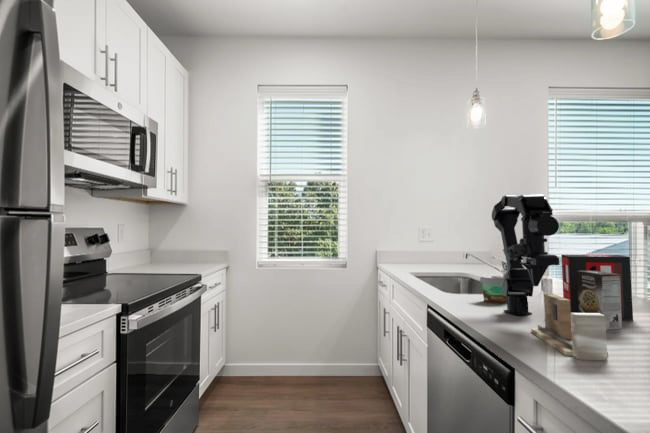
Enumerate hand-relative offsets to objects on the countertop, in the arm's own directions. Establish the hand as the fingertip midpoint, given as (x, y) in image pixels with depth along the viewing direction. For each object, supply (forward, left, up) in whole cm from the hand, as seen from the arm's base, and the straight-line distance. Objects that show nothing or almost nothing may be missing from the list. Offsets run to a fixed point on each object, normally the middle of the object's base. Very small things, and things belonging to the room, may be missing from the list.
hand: (535, 286), depth 110 cm
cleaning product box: (-5, +28, -12) cm, 30 cm away
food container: (-32, +11, -12) cm, 36 cm away
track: (+17, -6, -12) cm, 22 cm away
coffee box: (+5, +18, -12) cm, 22 cm away
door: (+12, -5, -11) cm, 17 cm away
